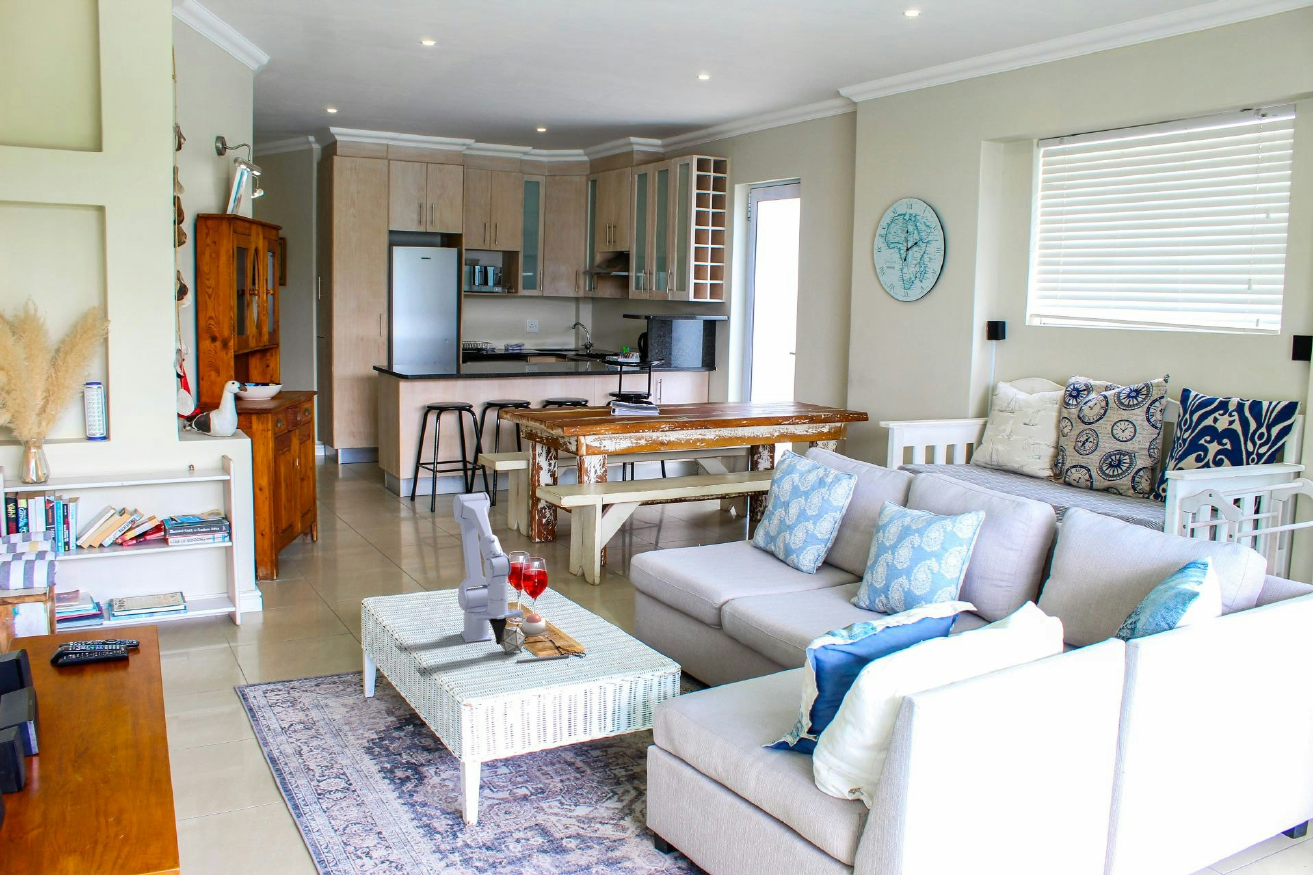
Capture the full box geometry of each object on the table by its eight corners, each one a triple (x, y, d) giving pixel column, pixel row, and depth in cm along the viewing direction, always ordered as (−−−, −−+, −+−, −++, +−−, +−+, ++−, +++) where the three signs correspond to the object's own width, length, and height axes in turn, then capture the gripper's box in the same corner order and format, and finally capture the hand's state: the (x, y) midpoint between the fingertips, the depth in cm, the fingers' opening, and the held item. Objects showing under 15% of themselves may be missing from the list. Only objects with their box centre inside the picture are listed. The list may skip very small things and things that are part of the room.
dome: (520, 627, 322) (519, 611, 321) (542, 625, 324) (542, 609, 324) (525, 634, 315) (525, 618, 315) (547, 632, 318) (547, 616, 317)
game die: (516, 665, 304) (525, 647, 298) (489, 654, 303) (497, 635, 297) (525, 642, 311) (534, 623, 304) (498, 631, 310) (507, 612, 304)
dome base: (514, 631, 323) (514, 626, 323) (545, 628, 326) (545, 623, 326) (521, 641, 314) (521, 637, 314) (553, 638, 317) (553, 633, 317)
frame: (505, 644, 312) (505, 642, 312) (554, 639, 317) (554, 637, 317) (517, 663, 296) (517, 661, 296) (568, 657, 301) (568, 655, 301)
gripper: (474, 603, 294) (475, 650, 296) (525, 599, 299) (525, 645, 300) (470, 596, 300) (471, 642, 302) (520, 592, 305) (520, 637, 307)
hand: (498, 643), depth 302 cm, fingers closed, pressing on game die
